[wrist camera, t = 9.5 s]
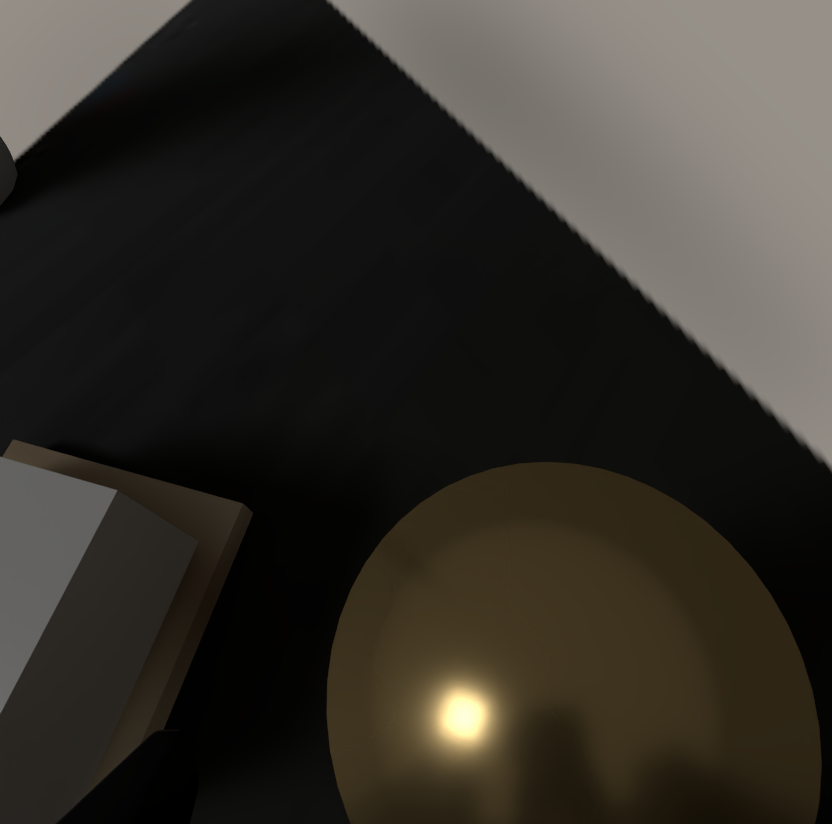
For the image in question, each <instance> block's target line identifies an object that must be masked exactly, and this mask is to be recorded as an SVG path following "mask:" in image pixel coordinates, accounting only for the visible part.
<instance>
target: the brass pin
mask: <svg viewBox="0 0 832 824" xmlns="http://www.w3.org/2000/svg"><path fill="white" fill-rule="evenodd" d="M327 724H328V734H329V744H330V752H331V757H332V762H333V766H334V771H335V775H336V780H337V785H338V788H339V791H340V794H341V797H342V800H343V803H344V806H345V809H346V812H347V814H348V817H349V820H350V823H351V824H815V821H816V816H817V811H818V806H819V800H820V784H821V768H822V761H821V746H820V730H819V723H818V718H817V712H816V707H815V701H814V696H813V691H812V688H811V684H810V681H809V678H808V675H807V671H806V668H805V665H804V662H803V659H802V656H801V653H800V651H799V649H798V646H797V644H796V642H795V640H794V637H793V635H792V633H791V630H790V628H789V626H788V624H787V622H786V620H785V618H784V617H783V615H782V613H781V611H780V610H779V608H778V606H777V604H776V603H775V601H774V599H773V597H772V596H771V594H770V593H769V591H768V590H767V588H766V587H765V586H764V584H763V583H762V581H761V580H760V579H759V577H758V576H757V575H756V573H755V572H754V570H753V569H752V568H751V566H750V565H749V564H748V563H747V562H746V561H745V560H744V559H743V557H742V556H741V555H740V554H739V553H738V552H737V551H736V550H735V549H734V547H733V546H732V545H731V544H730V543H729V542H728V541H727V540H726V539H725V538H724V537H722V536H721V535H720V534H719V533H718V532H717V531H716V530H715V529H713V528H712V527H711V526H710V525H709V524H708V523H707V522H706V521H704V520H703V519H702V518H700V517H699V516H698V515H696V514H695V513H693V512H692V511H691V510H689V509H688V508H686V507H685V506H684V505H682V504H681V503H679V502H678V501H676V500H674V499H672V498H671V497H669V496H667V495H665V494H663V493H662V492H660V491H658V490H656V489H655V488H653V487H650V486H648V485H646V484H643V483H641V482H639V481H636V480H634V479H632V478H629V477H627V476H623V475H620V474H617V473H613V472H610V471H607V470H604V469H600V468H595V467H589V466H584V465H578V464H571V463H554V462H538V463H522V464H515V465H510V466H504V467H499V468H494V469H490V470H487V471H484V472H481V473H478V474H475V475H472V476H469V477H466V478H464V479H462V480H460V481H458V482H456V483H454V484H451V485H449V486H447V487H445V488H443V489H442V490H440V491H439V492H437V493H435V494H434V495H432V496H431V497H429V498H428V499H426V500H424V501H423V502H421V503H420V504H419V505H418V506H417V507H415V508H414V509H413V510H412V511H411V512H409V513H408V514H407V515H406V516H405V517H403V518H402V519H401V520H400V521H399V522H398V523H397V524H396V525H395V526H394V527H393V529H392V530H391V531H390V532H389V533H388V534H387V535H386V536H385V537H384V538H383V539H382V540H381V542H380V543H379V545H378V546H377V547H376V549H375V550H374V552H373V553H372V554H371V556H370V557H369V559H368V560H367V561H366V563H365V564H364V566H363V568H362V570H361V572H360V574H359V576H358V577H357V579H356V581H355V583H354V585H353V587H352V588H351V591H350V593H349V596H348V598H347V601H346V603H345V606H344V608H343V611H342V613H341V616H340V619H339V623H338V627H337V631H336V634H335V638H334V642H333V646H332V651H331V658H330V665H329V673H328V680H327Z"/></svg>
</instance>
